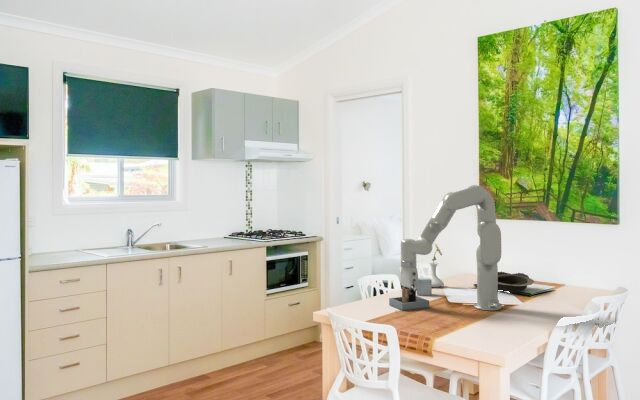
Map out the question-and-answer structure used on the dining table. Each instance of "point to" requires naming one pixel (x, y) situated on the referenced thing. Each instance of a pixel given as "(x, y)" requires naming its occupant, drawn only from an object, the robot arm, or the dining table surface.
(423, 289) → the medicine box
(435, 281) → the flower in vase
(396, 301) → the tray
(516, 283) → the stone bowl
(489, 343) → the dining table surface
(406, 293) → the walnut block
